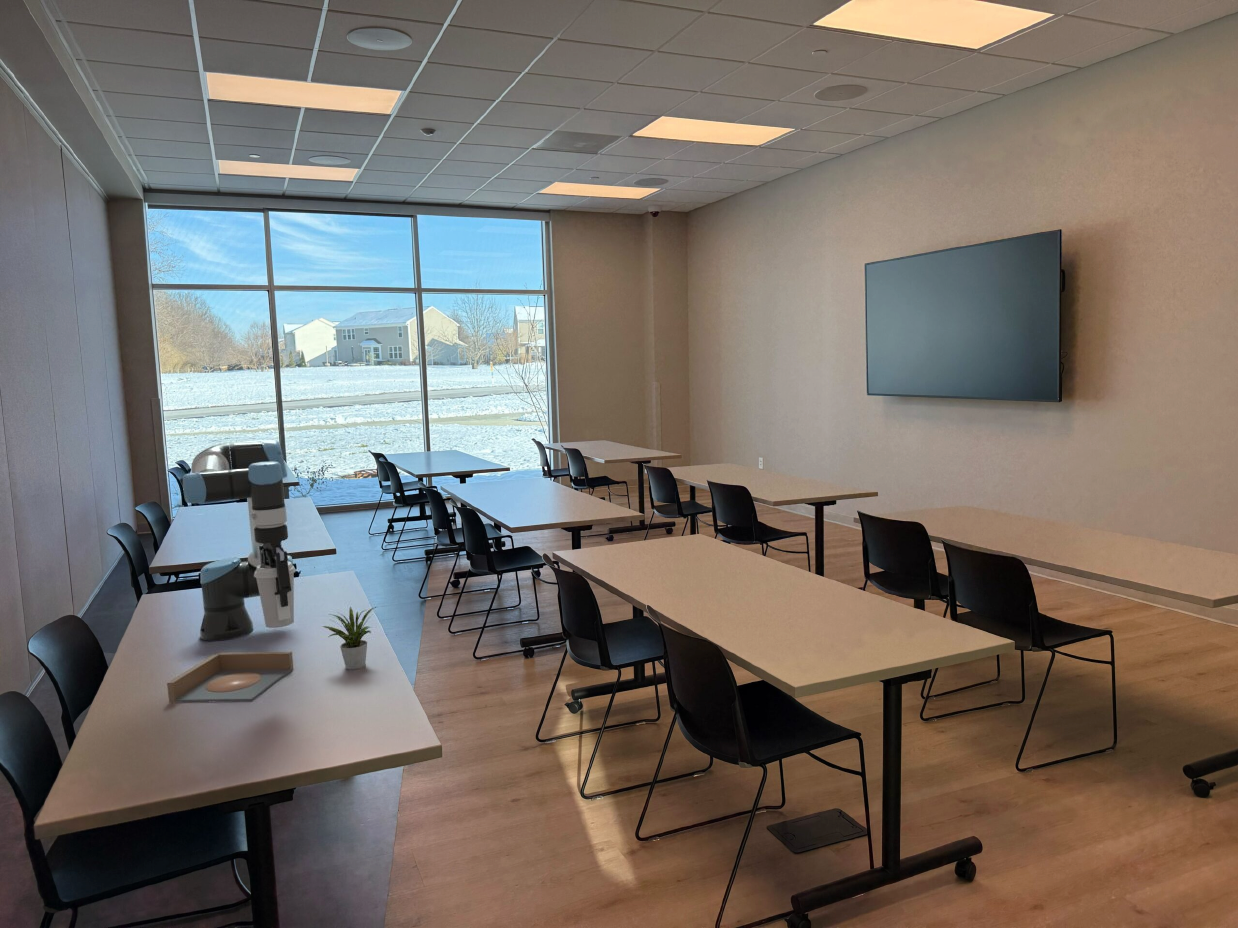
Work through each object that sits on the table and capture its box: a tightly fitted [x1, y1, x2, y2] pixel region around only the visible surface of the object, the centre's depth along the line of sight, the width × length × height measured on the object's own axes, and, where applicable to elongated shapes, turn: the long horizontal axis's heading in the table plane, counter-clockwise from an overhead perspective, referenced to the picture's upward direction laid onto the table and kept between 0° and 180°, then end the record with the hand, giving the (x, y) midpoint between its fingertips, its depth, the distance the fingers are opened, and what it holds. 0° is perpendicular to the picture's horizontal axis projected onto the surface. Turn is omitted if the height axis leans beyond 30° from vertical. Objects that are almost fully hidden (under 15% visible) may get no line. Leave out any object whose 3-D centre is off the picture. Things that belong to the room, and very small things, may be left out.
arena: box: [166, 651, 294, 703], centre depth 213 cm, size 22×22×5 cm
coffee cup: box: [254, 561, 296, 629], centre depth 202 cm, size 10×10×15 cm
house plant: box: [322, 606, 377, 670], centre depth 223 cm, size 14×14×16 cm
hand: (279, 615), depth 203 cm, fingers closed on coffee cup, 7 cm apart
